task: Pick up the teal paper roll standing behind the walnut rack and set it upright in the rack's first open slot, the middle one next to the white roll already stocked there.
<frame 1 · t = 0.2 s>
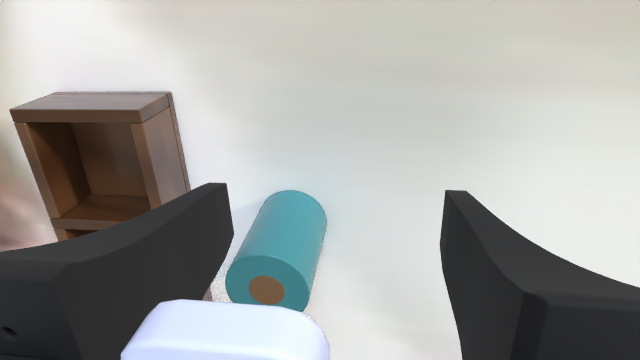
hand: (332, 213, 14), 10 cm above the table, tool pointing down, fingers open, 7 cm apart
rack: (150, 239, 29), on the table
paper roll: (293, 219, 26), on the table
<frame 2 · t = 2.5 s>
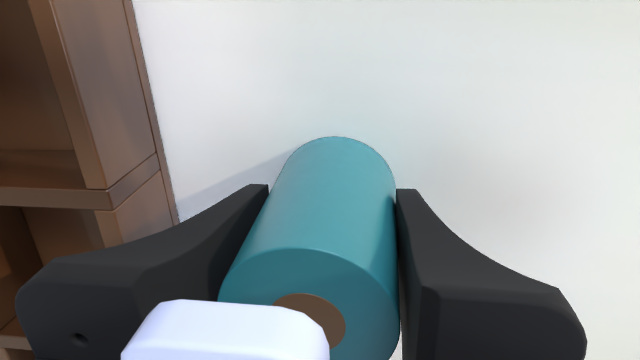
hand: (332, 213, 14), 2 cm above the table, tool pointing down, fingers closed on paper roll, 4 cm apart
rack: (100, 225, 18), on the table
paper roll: (336, 190, 15), on the table, touching gripper
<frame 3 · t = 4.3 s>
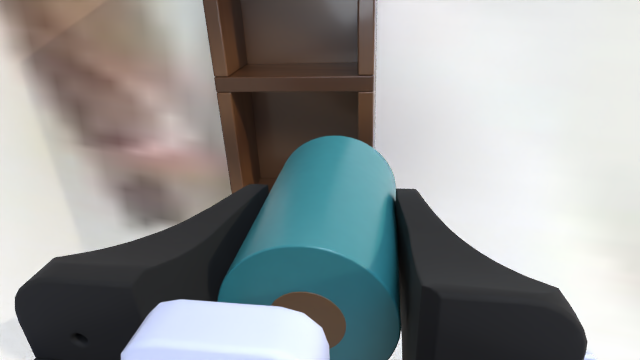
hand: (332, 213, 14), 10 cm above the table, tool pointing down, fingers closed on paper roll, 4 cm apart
rack: (309, 128, 23), on the table
paper roll: (336, 189, 15), point 8 cm above the table, touching gripper
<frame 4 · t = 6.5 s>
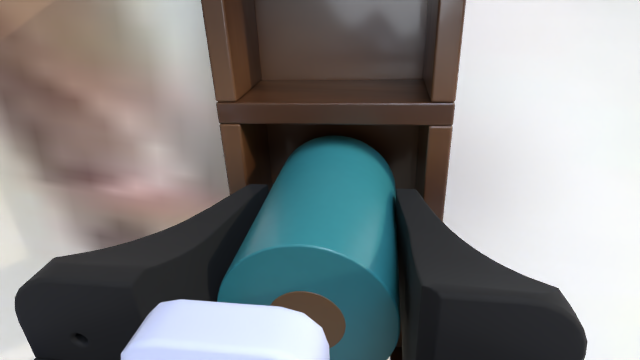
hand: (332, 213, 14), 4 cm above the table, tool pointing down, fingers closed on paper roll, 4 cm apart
rack: (343, 164, 17), on the table
paper roll: (336, 189, 15), point 2 cm above the table, touching gripper
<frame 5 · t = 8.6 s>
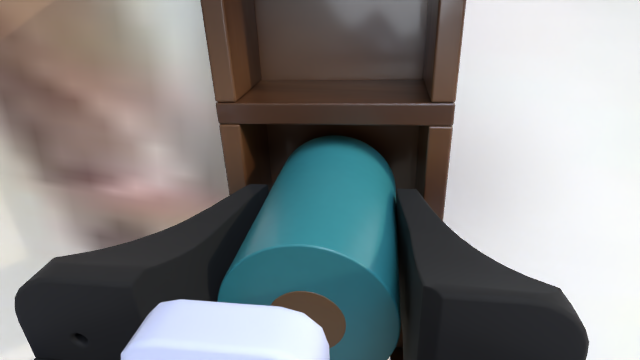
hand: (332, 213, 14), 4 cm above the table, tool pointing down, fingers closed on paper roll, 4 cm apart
rack: (342, 165, 17), on the table
paper roll: (336, 189, 15), point 2 cm above the table, touching gripper
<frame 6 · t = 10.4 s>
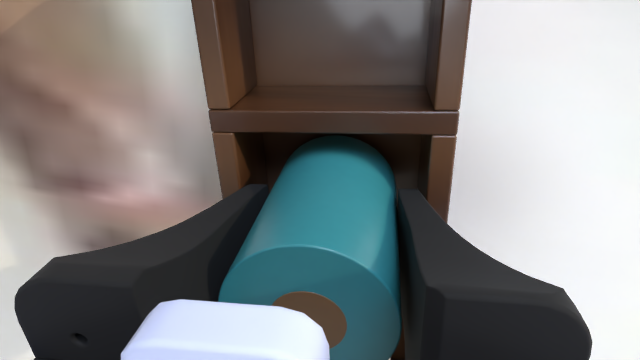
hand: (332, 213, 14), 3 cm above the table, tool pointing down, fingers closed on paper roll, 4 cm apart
rack: (341, 173, 17), on the table
paper roll: (337, 189, 15), point 2 cm above the table, touching gripper
when the fingers open (4 cm above the table, at t = 10.7 s): paper roll drops 2 cm, resting on rack.
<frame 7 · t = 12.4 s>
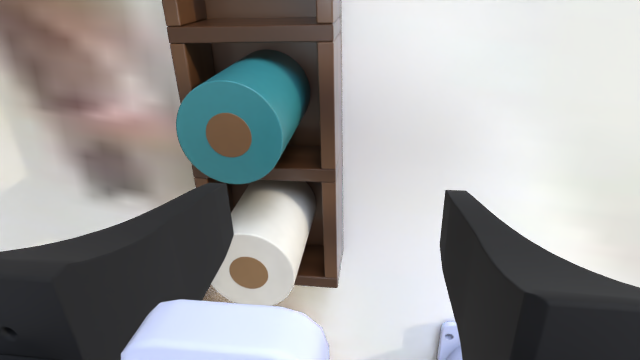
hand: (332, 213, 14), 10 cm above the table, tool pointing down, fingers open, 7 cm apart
stocked roll: (280, 201, 25), resting on rack
rack: (273, 89, 22), on the table
paper roll: (270, 91, 22), resting on rack
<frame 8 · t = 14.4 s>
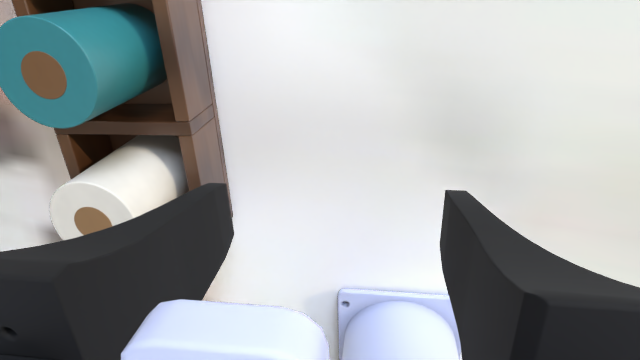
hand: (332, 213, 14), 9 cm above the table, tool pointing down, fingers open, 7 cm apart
stocked roll: (162, 164, 24), resting on rack
rack: (142, 46, 22), on the table
paper roll: (135, 47, 22), resting on rack
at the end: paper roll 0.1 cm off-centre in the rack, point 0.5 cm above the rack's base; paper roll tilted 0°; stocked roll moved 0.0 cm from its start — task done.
